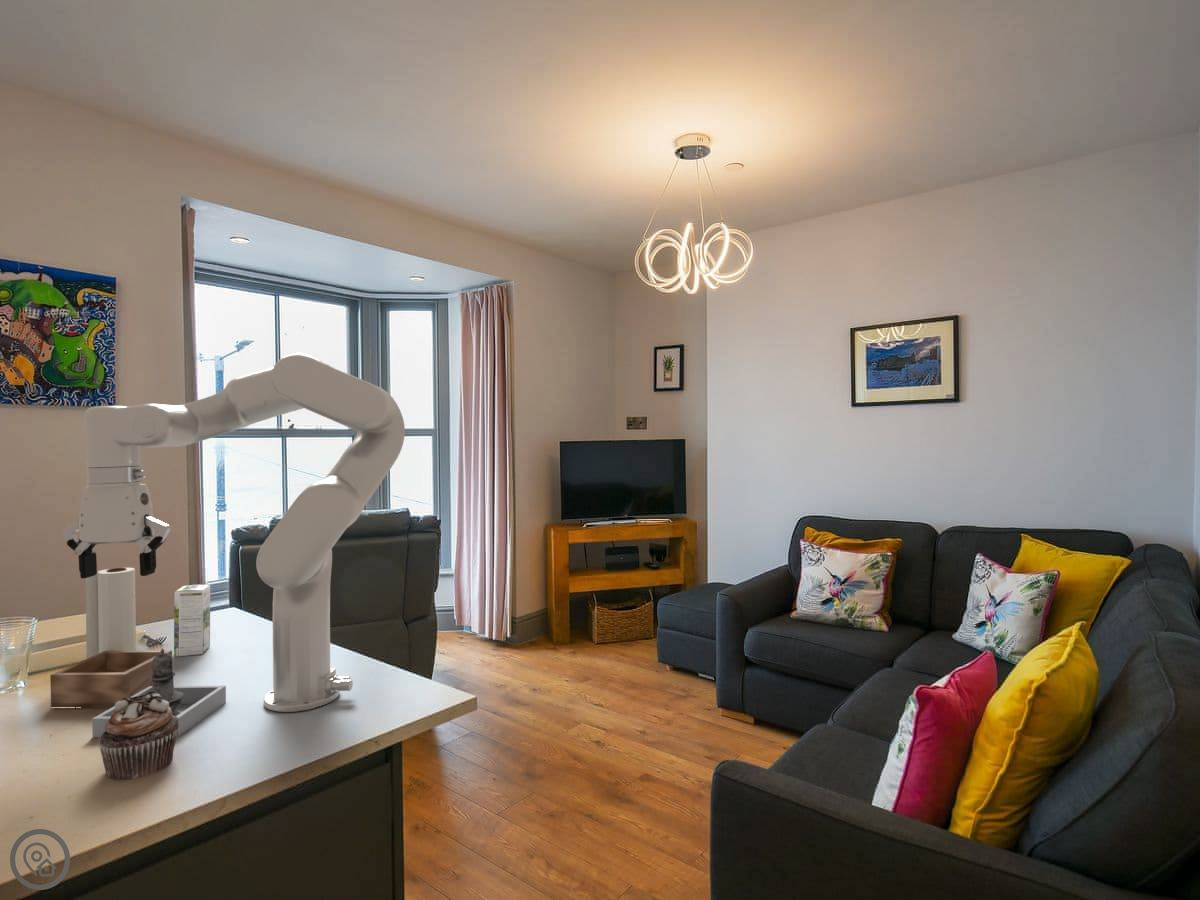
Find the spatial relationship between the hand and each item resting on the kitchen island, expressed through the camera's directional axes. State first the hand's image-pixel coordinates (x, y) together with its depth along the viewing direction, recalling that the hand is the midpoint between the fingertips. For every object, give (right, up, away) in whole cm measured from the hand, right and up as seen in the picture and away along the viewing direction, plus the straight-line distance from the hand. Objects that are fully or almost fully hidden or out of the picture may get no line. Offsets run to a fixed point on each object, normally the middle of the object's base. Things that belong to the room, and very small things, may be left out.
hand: (118, 575), depth 114 cm
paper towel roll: (-14, -24, +18) cm, 33 cm away
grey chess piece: (+9, -24, -3) cm, 26 cm away
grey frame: (+9, -24, -3) cm, 26 cm away
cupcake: (+17, -24, -18) cm, 35 cm away
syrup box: (-7, -23, +32) cm, 40 cm away
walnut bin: (-7, -24, +8) cm, 26 cm away
